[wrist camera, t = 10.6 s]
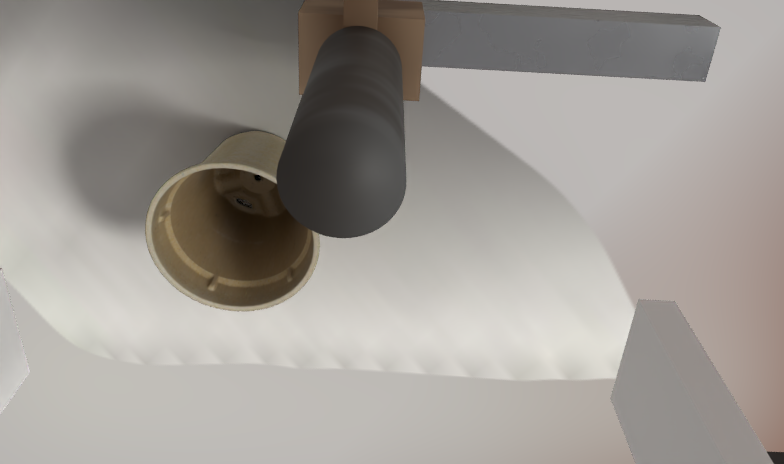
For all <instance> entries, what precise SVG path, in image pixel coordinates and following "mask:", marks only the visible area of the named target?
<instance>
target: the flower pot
mask: <svg viewBox="0 0 784 464" xmlns="http://www.w3.org/2000/svg"><path fill="white" fill-rule="evenodd" d="M285 143H286V141H285V140H283V139H282V138H280V137H278V136H275V135H273V134H270V133H266V132H261V131H250V132H245V133H240V134H237V135H234V136H231V137H229V138H227V139H226V140H225V141H224V142H222V143H221V144H220V146H219V147H218V148H217V149H216V150H215V151H214V152H213V153H211V154H210V155H209V156H208V157H207V158H206V159H205V160H204V161H203V162H202V163H201V164H197V165H194V166H191V167H189V168H186V169H184V170H182V171H180V172H179V173H177V174H175V175H174V176H172V177H171V178H170V179H169V180H168V181H166V182H165V183H164V184H163V185H162V187H161V188H160V189H159V190H158V192H157V193H156V195H155V196H154V198H153V200H152V202H151V204H150V206H149V209H148V212H147V217H146V224H145V234H146V241H147V245H148V249H149V252H150V254H151V257H152V259H153V261H154V263H155V265H156V266H157V268H158V269H159V271H160V272H161V274H162V275H163V276H164V277H165V278H166V279H167V280H168V281H169V283H171V285H172V286H174V287H175V288H176V289H177V290H179V291H180V292H182V293H183V294H185V295H186V296H188V297H190V298H191V299H193V300H195V301H198V302H199V303H201V304H205V305H209V306H210V307H215V308H219V309H223V310H229V311H255V310H260V309H265V308H269V307H272V306H274V305H277V304H279V303H282V302H284V301H285V300H287V299H289V298H291V297H292V296H293V295H295V294H296V293H297V292H298V291H299V290H300V289H301V288H302V287H303V286H304V285H305V284H306V283H307V281H308V280H309V279H310V277H311V275H312V274H313V271H314V269H315V267H316V264H317V261H318V256H319V248H320V240H319V233H316V232H314V231H312V230H310V229H308V228H306V227H305V226H303V225H302V224H301V223H299V222H298V221H297V220H296V219H295V218H294V217H293V216H292V215H291V214H290V213H289V211H288V210H287V209H286V207H285V206H284V204H283V202H282V200H281V198H280V195H279V192H278V188H277V180H276V175H277V167H278V162H279V159H280V156H281V154H282V151H283V148H284V145H285ZM255 175H260V177H261V180H259V181H258V180H256V179H255ZM237 198H239V199H241V200H247V202H248V203H250V204H251V205H252V207H251V208H250V207H247V206H245V205H242V204H240V203H239V202H238V201H237Z"/></svg>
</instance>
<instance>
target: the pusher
mask: <svg viewBox="0 0 784 464" xmlns="http://www.w3.org/2000/svg"><path fill="white" fill-rule="evenodd" d="M424 29H425V16H424V10H423V5H422V2H416V1H399V0H305V1H304V3H303V5H302V7H301V8H300V10H299V12H298V39H299V95H303V96H302V98H301V101H300V104H299V107H298V109H297V112H296V115H295V118H294V121H293V123H292V126H291V129H290V132H289V134H288V137H287V140H286V143H285V145H284V148H283V151H282V154H281V156H280V159H279V162H278V167H277V175H276V180H277V188H278V192H279V195H280V198H281V200H282V202H283V204H284V206H285V207H286V209H287V210H288V211H289V213H290V214H291V215H292V216H293V217H294V218H295V219H296V220H297V221H298V222H299V223H301V224H302V225H303V226H305V227H306V228H308V229H310V230H312V231H314V232H316V233H319V234H322V235H325V236H329V237H336V238H352V237H358V236H362V235H366V234H368V233H371V232H373V231H375V230H377V229H379V228H380V227H382V226H383V225H385V224H386V223H387V222H388V221H389V220H390V219H391V218H392V217H393V216H394V215H395V213H396V212H397V210H398V209H399V207H400V205H401V203H402V201H403V198H404V194H405V189H406V162H405V135H404V108H403V100H409V101H419V94H420V81H421V68H422V55H423V42H424Z"/></svg>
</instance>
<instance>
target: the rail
mask: <svg viewBox="0 0 784 464" xmlns="http://www.w3.org/2000/svg"><path fill="white" fill-rule="evenodd" d="M399 1H416V2H422V5H423V10H424V16H425V29H424V42H423V55H422V66H428V67H446V68H447V67H448V68H464V69H465V68H466V69H482V70H502V71H519V72H537V73H555V74H574V75H592V76H610V77H629V78H647V79H666V80H684V81H702V82H705V81H706V77H707V74H708V70H709V67H710V63H711V60H712V56H713V53H714V49H715V46H716V42H717V39H718V35H719V32H720V27H719V26H717V25H716V24H714V23H712V22H710V21H708V20H707V19H705V18H703V17H701V16H699V15H684V14H666V13H648V12H631V11H614V10H596V9H580V8H562V7H545V6H527V5H509V4H493V3H475V2H458V1H440V0H399Z"/></svg>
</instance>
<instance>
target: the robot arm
mask: <svg viewBox="0 0 784 464" xmlns="http://www.w3.org/2000/svg"><path fill="white" fill-rule="evenodd" d="M29 373H30V370H29V366H28V363H27V359H26V355H25V351H24V348H23V344H22V340H21V337H20V333H19V329H18V325H17V321H16V318H15V314H14V310H13V307H12V303H11V299H10V296H9V292H8V288H7V284H6V280H5V277H4V273H3V269H2V268H0V414H1V413H2V411H3V410H4V409H5V407H6V406H7V404H8V403H9V401H10V400H11V398H12V397H13V396H14V394H15V393H16V391H17V390H18V388H19V387H20V386H21V384H22V383H23V381H24V380H25V378H26V377H27V375H28V374H29ZM611 401H612V403H613V406H614V408H615V411H616V414H617V416H618V419H619V422H620V424H621V427H622V429H623V432H624V435H625V437H626V440H627V442H628V445H629V448H630V450H631V453H632V455H633V458H634V460H635V463H636V464H784V452H766V450H765V448H764V447H763V445H762V443H761V442H760V440H759V439H758V437H757V435H756V434H755V432H754V430H753V429H752V427H751V426H750V424H749V422H748V420H747V419H746V417H745V416H744V414H743V412H742V411H741V409H740V407H739V406H738V404H737V402H736V401H735V399H734V397H733V396H732V395H731V393H730V391H729V389H728V388H727V386H726V384H725V383H724V381H723V380H722V378H721V376H720V374H719V373H718V371H717V370H716V368H715V366H714V365H713V363H712V361H711V360H710V358H709V356H708V355H707V353H706V351H705V350H704V348H703V346H702V345H701V343H700V342H699V340H698V338H697V337H696V335H695V333H694V332H693V330H692V328H691V327H690V325H689V323H688V322H687V320H686V319H685V317H684V315H683V314H682V312H681V310H680V309H679V307H678V305H677V304H676V302H675V301H661V300H640V299H639V300H638V303H637V307H636V310H635V314H634V317H633V321H632V324H631V328H630V331H629V335H628V338H627V342H626V346H625V349H624V353H623V356H622V360H621V363H620V367H619V370H618V374H617V377H616V381H615V384H614V388H613V391H612V395H611Z"/></svg>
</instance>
